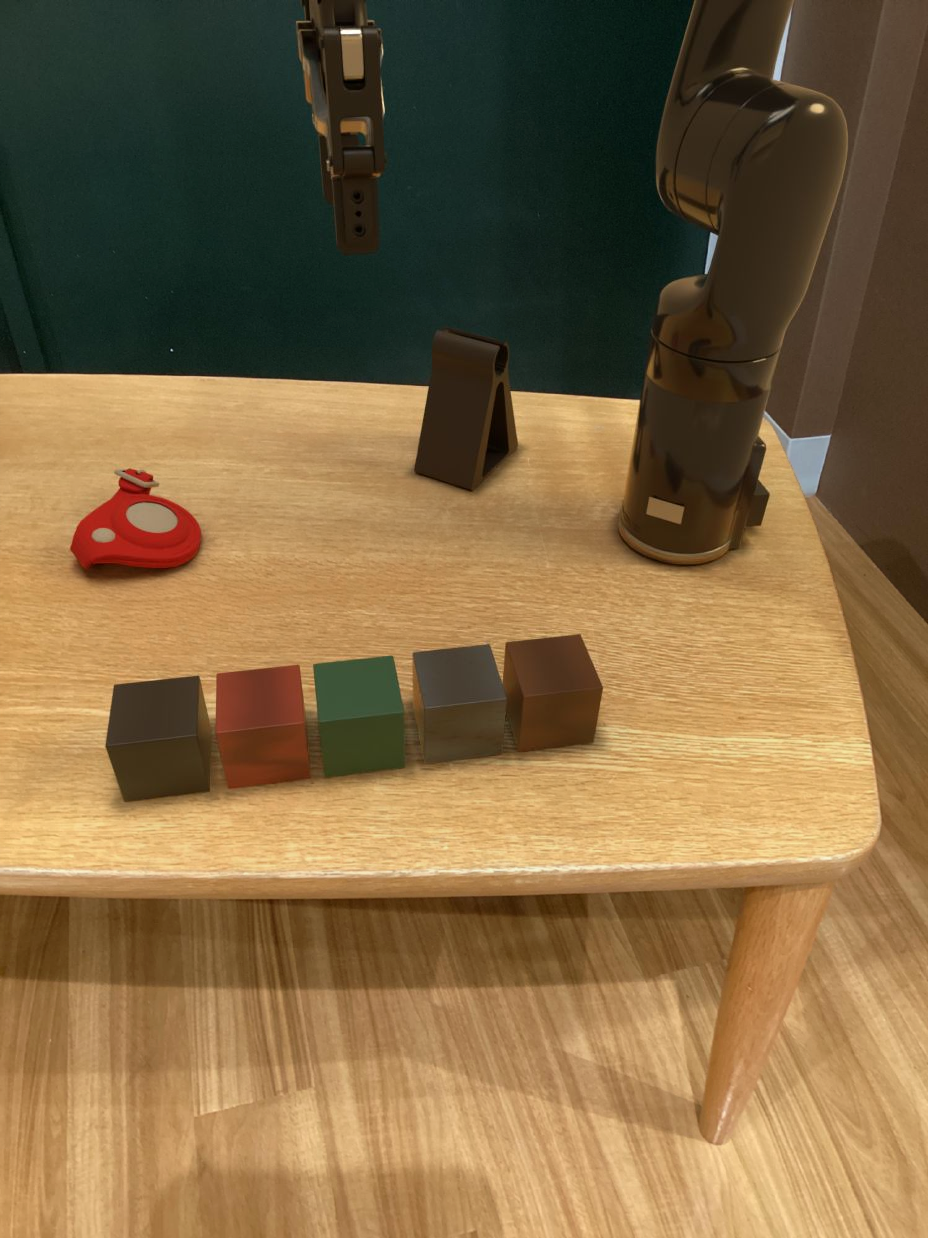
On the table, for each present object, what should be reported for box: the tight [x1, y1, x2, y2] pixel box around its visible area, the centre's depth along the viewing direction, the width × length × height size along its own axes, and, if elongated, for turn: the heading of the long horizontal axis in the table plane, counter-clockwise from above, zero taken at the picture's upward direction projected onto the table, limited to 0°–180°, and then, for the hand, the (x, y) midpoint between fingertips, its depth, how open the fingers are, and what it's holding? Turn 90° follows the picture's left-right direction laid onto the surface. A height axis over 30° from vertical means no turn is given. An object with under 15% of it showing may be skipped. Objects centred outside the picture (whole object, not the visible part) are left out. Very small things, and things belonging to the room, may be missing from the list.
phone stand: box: [413, 325, 519, 491], centre depth 81 cm, size 9×6×12 cm, turn 150°
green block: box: [312, 655, 406, 779], centre depth 57 cm, size 5×5×5 cm
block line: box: [104, 633, 604, 803], centre depth 57 cm, size 29×5×5 cm, turn 101°
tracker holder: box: [69, 468, 202, 569], centre depth 73 cm, size 12×4×10 cm
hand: (350, 225), depth 52 cm, fingers open, 8 cm apart
